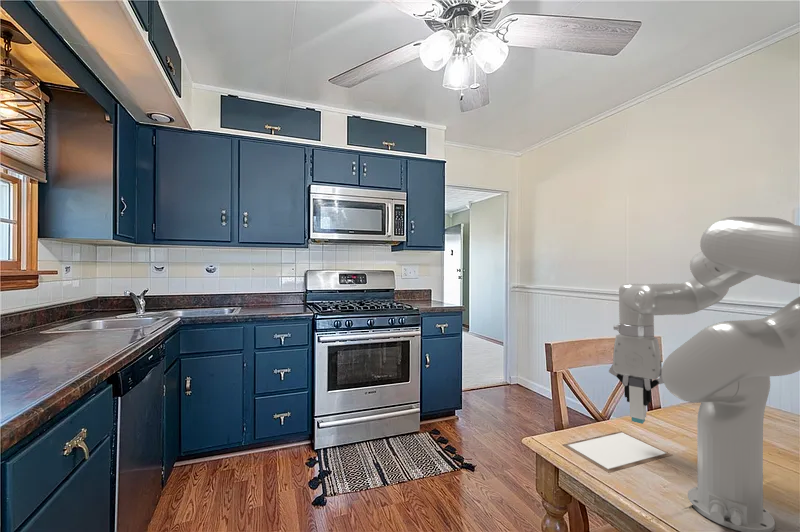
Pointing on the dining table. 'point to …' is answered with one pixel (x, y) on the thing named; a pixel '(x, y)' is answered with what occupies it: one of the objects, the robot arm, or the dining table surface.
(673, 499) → the dining table surface
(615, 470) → the board
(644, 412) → the grey square bar
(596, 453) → the paper
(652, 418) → the dining table surface
